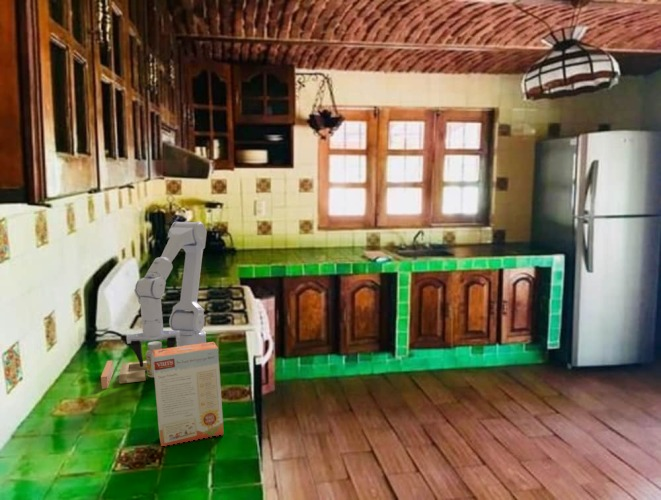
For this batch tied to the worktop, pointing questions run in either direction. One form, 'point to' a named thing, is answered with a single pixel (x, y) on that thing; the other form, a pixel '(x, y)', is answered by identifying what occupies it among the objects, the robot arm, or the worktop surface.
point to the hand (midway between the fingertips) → (155, 364)
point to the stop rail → (107, 374)
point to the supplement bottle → (151, 356)
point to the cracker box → (188, 393)
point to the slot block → (132, 372)
